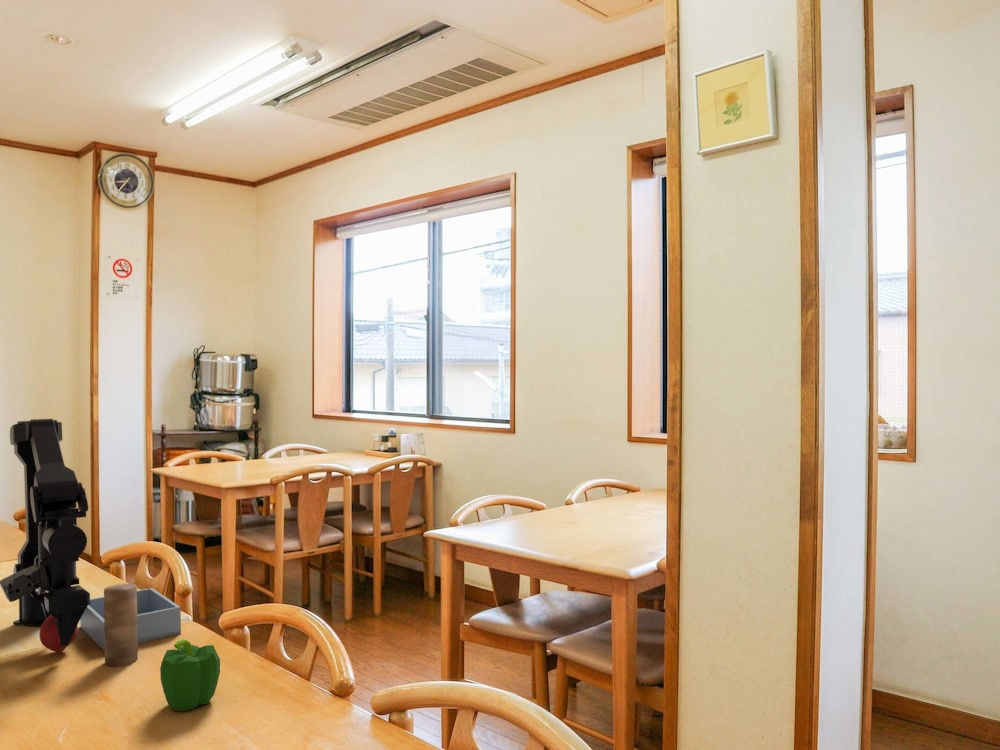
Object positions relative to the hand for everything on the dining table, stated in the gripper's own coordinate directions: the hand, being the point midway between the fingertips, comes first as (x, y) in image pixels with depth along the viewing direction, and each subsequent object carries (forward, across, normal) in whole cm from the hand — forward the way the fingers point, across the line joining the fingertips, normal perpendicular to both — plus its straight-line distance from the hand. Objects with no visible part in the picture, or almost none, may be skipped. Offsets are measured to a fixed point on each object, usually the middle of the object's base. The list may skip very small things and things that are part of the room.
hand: (58, 638), depth 137 cm
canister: (+2, +12, +7) cm, 14 cm away
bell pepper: (+3, +37, +10) cm, 38 cm away
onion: (+3, 0, 0) cm, 3 cm away
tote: (+2, -4, +13) cm, 14 cm away
